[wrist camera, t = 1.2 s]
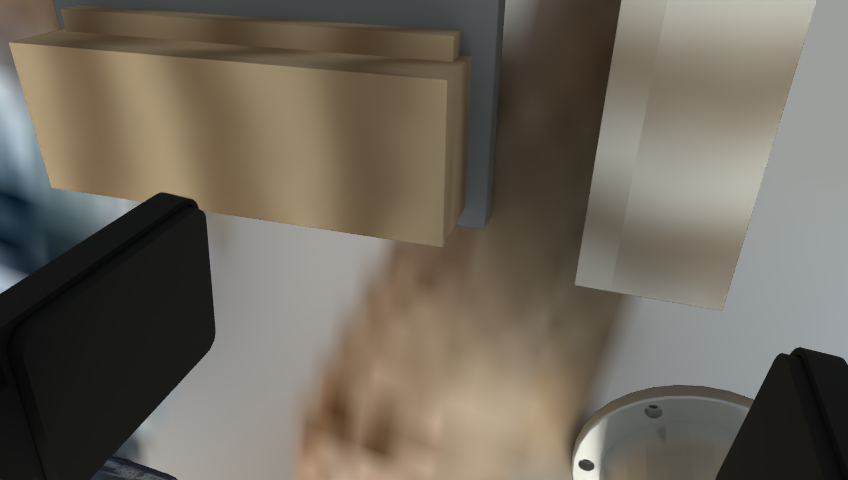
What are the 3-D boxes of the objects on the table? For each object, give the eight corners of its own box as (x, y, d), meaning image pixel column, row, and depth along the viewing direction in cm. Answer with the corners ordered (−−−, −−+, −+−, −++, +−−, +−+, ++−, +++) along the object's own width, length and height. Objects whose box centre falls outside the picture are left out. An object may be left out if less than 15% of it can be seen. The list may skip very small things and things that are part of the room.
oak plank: (472, 31, 26) (447, 52, 23) (464, 207, 30) (442, 247, 27) (70, 4, 31) (1, 18, 28) (108, 159, 35) (51, 187, 32)
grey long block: (713, 263, 30) (722, 311, 26) (582, 242, 31) (574, 285, 28) (847, -206, 21) (885, -225, 18) (655, -205, 22) (658, -222, 19)
